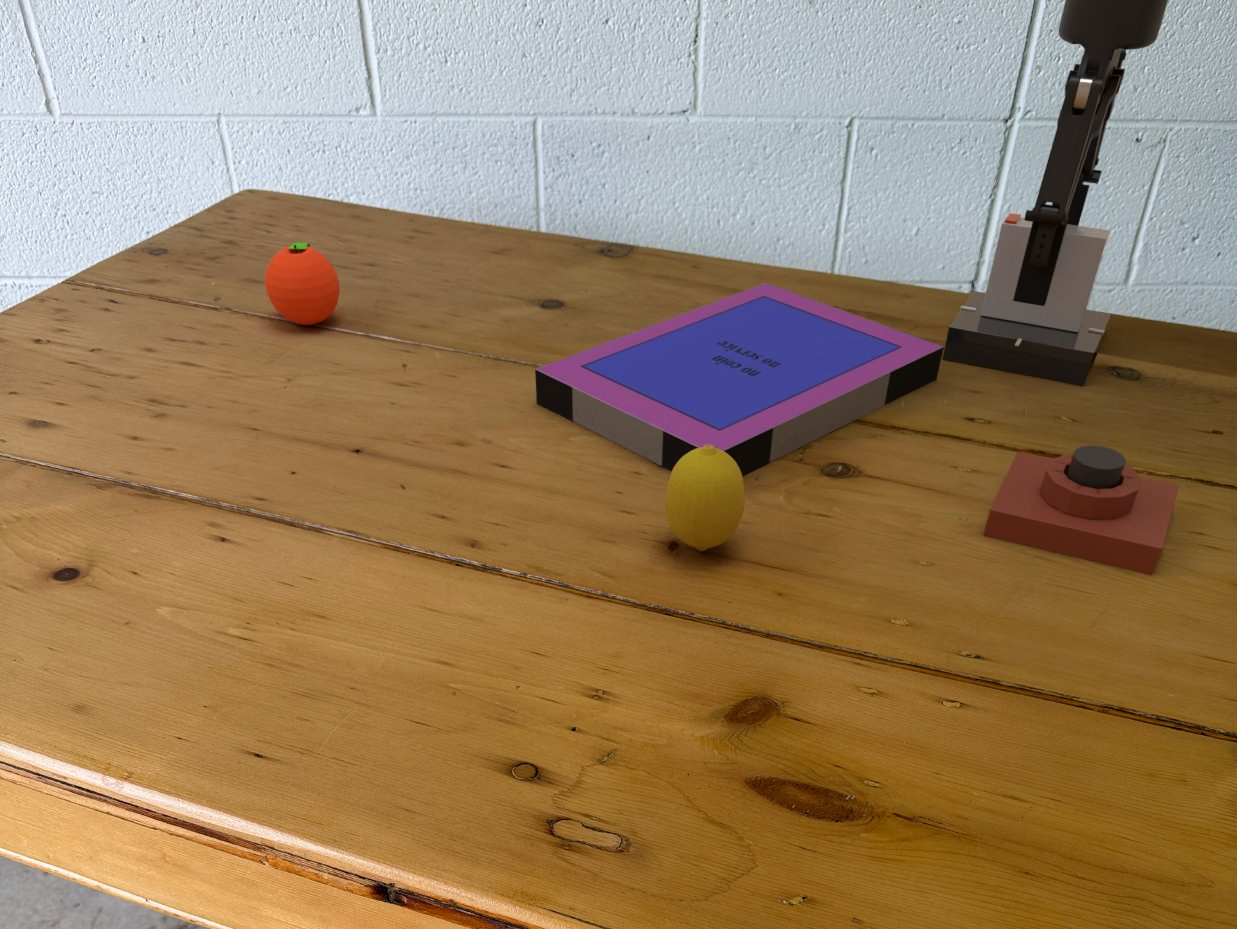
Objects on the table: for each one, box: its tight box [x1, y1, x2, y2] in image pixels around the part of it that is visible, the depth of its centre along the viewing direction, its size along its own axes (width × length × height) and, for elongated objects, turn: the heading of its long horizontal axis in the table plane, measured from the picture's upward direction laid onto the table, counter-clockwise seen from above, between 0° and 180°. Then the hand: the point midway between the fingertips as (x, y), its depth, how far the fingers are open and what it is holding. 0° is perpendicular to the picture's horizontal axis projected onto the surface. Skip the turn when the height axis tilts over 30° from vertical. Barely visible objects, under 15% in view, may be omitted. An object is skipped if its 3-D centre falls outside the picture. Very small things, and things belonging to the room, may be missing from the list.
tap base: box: [941, 290, 1112, 387], centre depth 104 cm, size 13×13×3 cm
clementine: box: [264, 242, 341, 326], centre depth 107 cm, size 8×7×7 cm
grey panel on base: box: [981, 212, 1111, 332], centre depth 100 cm, size 9×2×8 cm, turn 64°
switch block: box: [982, 451, 1180, 576], centre depth 82 cm, size 12×10×4 cm
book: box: [534, 282, 945, 477], centre depth 98 cm, size 21×3×30 cm
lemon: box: [664, 445, 746, 552], centre depth 78 cm, size 6×6×8 cm
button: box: [1067, 445, 1127, 489], centre depth 80 cm, size 4×4×2 cm
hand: (1041, 281), depth 101 cm, fingers open, 11 cm apart
